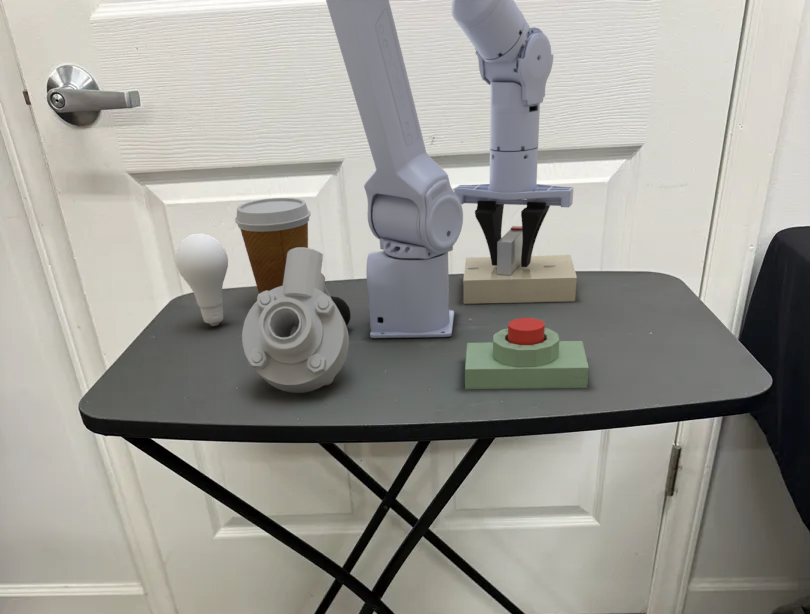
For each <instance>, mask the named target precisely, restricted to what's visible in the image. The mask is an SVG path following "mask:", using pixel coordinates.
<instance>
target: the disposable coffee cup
mask: <svg viewBox="0 0 810 614" xmlns="http://www.w3.org/2000/svg"><path fill="white" fill-rule="evenodd" d="M310 217H311V211H310V210H309V209H308V205H307V202H306V201H305V200H304V199H301V198H295V197H271V198H262V199H255V200H252V201H247V202H245V203H241V204H240V205H238V206H237V207H236V217H234V222H235V223H236V224H237V227H238V228H239V229H240V232H241V236H242V239H243V243H244V247H245V251H246V254H247V257H248V260H249V264H250V267H251V271H252V274H253V278H254V281H255V285H256V288H257V292H258V294H260V293H262V292H263V291H266V290H267V291H270V290H272V289H274V288H276V287H280V286H283V280H284V273H285V266H286V259H287V253H288V251H289V250H291V249H294V248H297V247H305V248H309V221H310Z"/></svg>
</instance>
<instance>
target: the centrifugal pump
mask: <svg viewBox="0 0 810 614" xmlns="http://www.w3.org/2000/svg"><path fill="white" fill-rule="evenodd" d="M323 257H324V254H323V253H322V252H321V251H318V250H316V249H314V248H310V247H308V248H305V247H297V248H294V249H291V250H289V251H288V253H287V259H286V266H285V273H284V280H283V286H280V287H276V288H274V289H272V290H270V291H267V290H266V291H263V292H262V293H260V294H259V293H258V294H257V297H256V301H255V302H254V303H253V305H252V306H251V308H250V309H249V310H248V311H247V312H248V313H247V315H246V317H245V319H244V322H243V327H242V332H241V333H242V334H241V340H242V349H243V352H244V355H245V357H246V359H247V361H248V363H249V365H250V366H251V367H252V368H253V369H254V371H255V372H256V373H257V374H258V375H259V376H260V377H261V378H262V379H264V380H265V381H266V382H267V383H268V384H269V385H271V386H272V387H274V388H275V389H278V390H280V391H282V392H285V393H286V392H287V393H292V394H304V393H309V392H312V391H317V390H318V389H320V388H322V387H323V386H329V385H330V384H332V383H333V382H334V378H335V377H336V376H337V375H338V373H339V372H340V371H341V370H342V368H343V366H344V364H345V362H346V359H347V358H348V353H349V347H350V336H349V330H348V325H349V323H350V322H351V309H350V306H349V305H348V304H347V302H346V301H345V300H344V299H342V298H341V297H339V296H334V295H333V296H331V295H330V292H329V290H328V289H327V287H326V285H325V284H326V276H325V275H324V273H322V266H323Z"/></svg>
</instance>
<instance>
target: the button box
mask: <svg viewBox="0 0 810 614" xmlns="http://www.w3.org/2000/svg"><path fill="white" fill-rule="evenodd" d="M492 337H493V338H492V342H466V350H465V362H464V363H465V364H464V389H465V390H507V389H508V390H509V389H511V390H512V389H513V390H514V389H515V390H516V389H517V390H518V389H519V390H521V389H523V390H524V389H587V388H588V384H589V383H588V382H589V370H590V367H589V362H588V357H587V354H586V350H585V346H584V342H583V340H565V341H564V340H560V335H559V334H558V333H557V332H555V331H554V330H552V329H550V328H547V327H545V331H544V342H543V343H539V344H535V345H517V344H512V343H509V342H508V327H507V328H502V329H500V330H499V331H497V332H496V333H494V334H493V335H492Z"/></svg>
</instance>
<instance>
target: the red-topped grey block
mask: <svg viewBox="0 0 810 614" xmlns="http://www.w3.org/2000/svg"><path fill="white" fill-rule="evenodd" d="M522 242H523V236H522V225H512V226H511V227H510V229H508V231H507V232H506V233H505V234H504V235H503V236H501V239H500V240H499V241H498V244H497V274H499V275H511V274H512V273H513V272H514V271H515V270H516V268H517V267H518V266H519V265H520V264H521V255H522Z"/></svg>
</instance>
